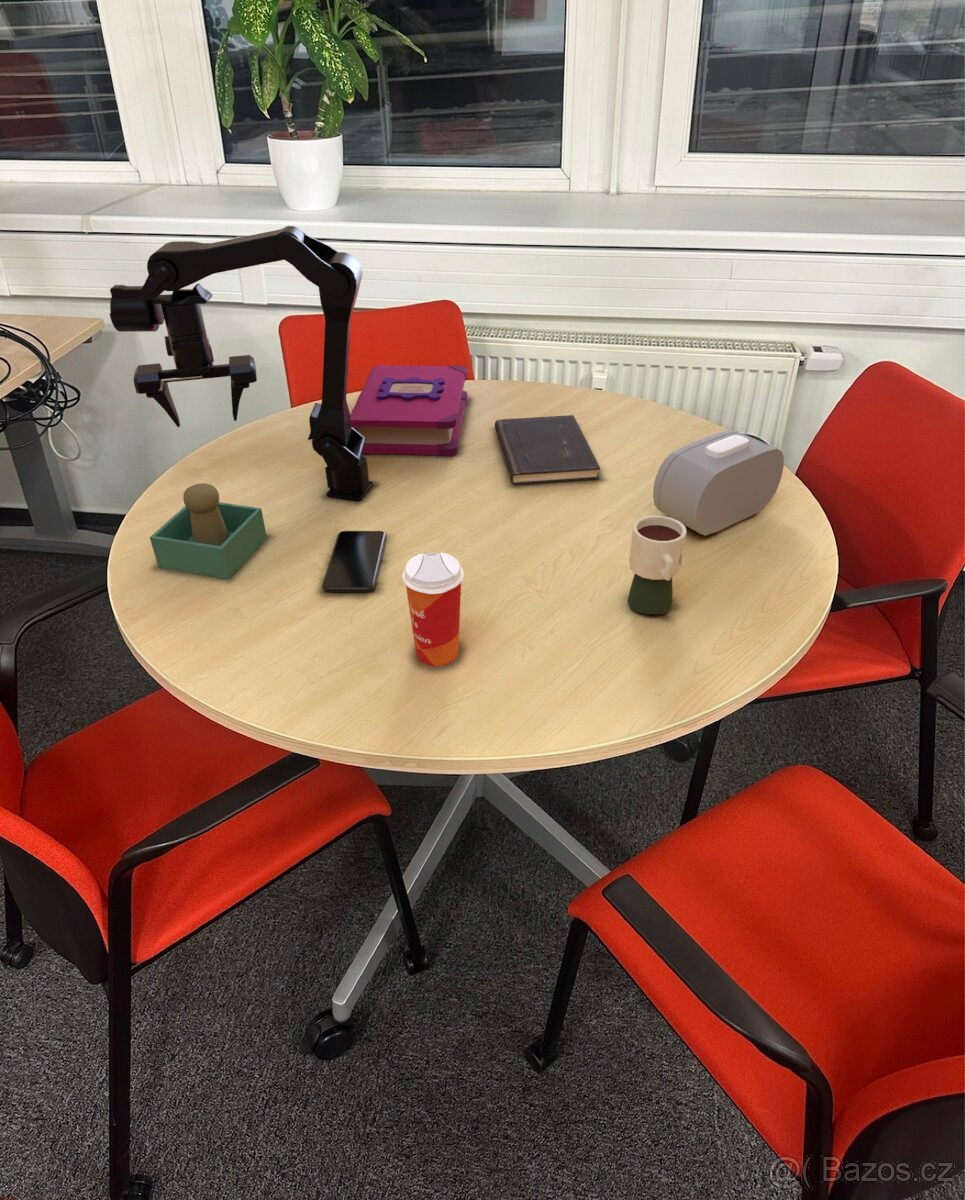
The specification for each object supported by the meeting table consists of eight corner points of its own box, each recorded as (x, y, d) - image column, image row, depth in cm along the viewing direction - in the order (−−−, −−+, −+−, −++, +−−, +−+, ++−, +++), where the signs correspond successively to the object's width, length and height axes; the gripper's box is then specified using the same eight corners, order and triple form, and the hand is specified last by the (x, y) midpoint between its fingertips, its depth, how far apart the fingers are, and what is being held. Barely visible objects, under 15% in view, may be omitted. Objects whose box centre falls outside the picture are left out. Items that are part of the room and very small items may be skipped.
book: (347, 454, 158) (342, 416, 153) (372, 395, 180) (369, 361, 176) (456, 456, 157) (455, 418, 152) (468, 397, 179) (467, 363, 175)
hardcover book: (573, 425, 167) (573, 414, 166) (599, 479, 149) (600, 468, 148) (494, 430, 166) (494, 419, 164) (511, 485, 147) (511, 473, 146)
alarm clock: (730, 486, 146) (744, 415, 138) (774, 508, 140) (791, 435, 132) (647, 522, 137) (656, 448, 129) (690, 547, 131) (703, 471, 123)
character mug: (686, 626, 115) (699, 547, 107) (636, 631, 114) (646, 552, 106) (660, 581, 123) (672, 505, 116) (614, 586, 123) (622, 510, 115)
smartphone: (374, 593, 122) (387, 534, 134) (374, 588, 121) (386, 530, 134) (321, 593, 122) (338, 534, 135) (320, 588, 121) (338, 529, 134)
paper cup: (408, 636, 114) (401, 551, 105) (464, 632, 114) (461, 547, 106) (409, 674, 107) (401, 586, 99) (468, 670, 108) (465, 583, 99)
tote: (267, 537, 134) (261, 508, 131) (228, 579, 125) (221, 548, 122) (200, 527, 137) (193, 498, 134) (158, 567, 128) (149, 537, 124)
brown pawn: (222, 561, 128) (208, 499, 121) (187, 557, 129) (170, 495, 122) (239, 541, 133) (226, 480, 126) (205, 537, 134) (190, 476, 127)
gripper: (246, 309, 138) (262, 398, 147) (128, 319, 134) (152, 410, 144) (247, 331, 129) (264, 424, 138) (122, 342, 126) (147, 437, 135)
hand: (207, 423), depth 139 cm, fingers open, 9 cm apart
